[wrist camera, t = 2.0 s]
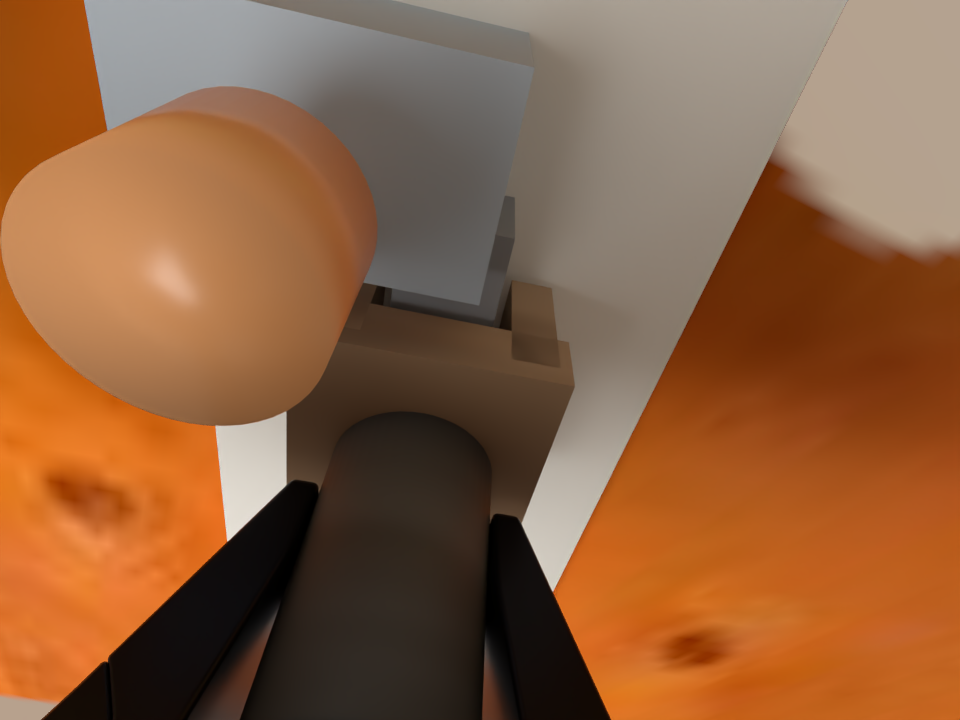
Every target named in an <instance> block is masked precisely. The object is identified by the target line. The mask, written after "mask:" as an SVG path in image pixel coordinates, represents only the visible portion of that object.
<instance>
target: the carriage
mask: <svg viewBox="0 0 960 720" xmlns="http://www.w3.org/2000/svg"><path fill="white" fill-rule="evenodd" d="M384 295H385V287H383V286H378V285H373V284H368V283H363V284H362V287H361V289H360V291H359V293H358V296H357V298H356V300H355V303H354V305H353V307H352V310H351V312H350V314H349V316H348V319H347V321H346V323H345V326H344V328H343V330H342V332H341V335H340V337H339V339H338V342H337V344H336V346H335V349H334V351H333V353H332V355H331V358H330V360H329V362H328V365H327V367H326V369H325V371H324V373H323V375H322V377H321V378H320V380H319V382H318V383H317V385H316V386H315V387H314V389H313V390H312V391H311V392H310V394H308V395H307V396H306V397H305V398H304V399H303V400H302V401H301V402H300V403H298V404H297V405H295V406H294V407H292V408H291V409H289V410H288V411H286V485H287V484H288V483H289V482H290V481H292V480H303V481H309V482H314V483H316V484H317V485H318V488H319V493H318V497H317V500H316V503H315V506H314V509H313V512H312V514H311V517H310V520H309V523H308V526H307V529H306V532H305V534H304V537H303V540H302V543H301V546H300V549H299V552H298V554H297V557H296V560H295V563H294V566H293V569H292V572H291V574H290V577H289V580H288V583H287V586H286V589H285V592H284V594H283V597H282V600H281V603H280V606H279V609H278V612H277V614H276V617H275V620H274V623H273V626H272V629H271V632H270V634H269V637H268V640H267V643H266V646H265V649H264V652H263V654H262V657H261V660H260V663H259V666H258V669H257V672H256V674H255V677H254V680H253V683H252V686H251V689H250V692H249V694H248V697H247V700H246V703H245V706H244V709H243V712H242V714H241V717H240V720H482V709H483V683H484V658H485V633H486V607H487V582H488V557H489V531H490V522H491V519H492V517H493V515H494V514H496V513H499V514H505V515H511V516H515V517H517V518H518V519H519V520H520V522H521V524H522V521H523V519H524V516H525V514H526V511H527V508H528V506H529V503H530V501H531V498H532V496H533V493H534V491H535V488H536V485H537V483H538V480H539V478H540V475H541V473H542V470H543V467H544V465H545V462H546V460H547V457H548V455H549V452H550V449H551V447H552V444H553V442H554V439H555V437H556V434H557V431H558V429H559V426H560V424H561V421H562V419H563V416H564V414H565V411H566V408H567V406H568V403H569V401H570V398H571V396H572V393H573V390H574V388H575V383H574V375H573V368H572V361H571V354H570V347H569V342H565V341H560V340H557V331H556V322H555V313H554V304H553V295H552V288H549V287H544V286H539V285H534V284H529V283H524V282H519V281H514V280H512V281H511V285H510V289H509V292H508V296H507V300H506V304H505V307H504V311H503V315H502V319H501V322H500V326H499V328H494V327H489V326H483V325H478V324H473V323H468V322H463V321H458V320H453V319H448V318H443V317H437V316H432V315H427V314H422V313H417V312H412V311H407V310H402V309H397V308H391V307H386V306H383V303H384Z"/></svg>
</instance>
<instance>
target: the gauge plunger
mask: <svg viewBox="0 0 960 720" xmlns="http://www.w3.org/2000/svg"><path fill="white" fill-rule="evenodd" d="M0 240H1V250H2V259H3V263H4V267H5V271H6V275H7V278H8V281H9V283H10V286H11V288H12V290H13V293H14V295H15V297H16V299H17V301H18V303H19V305H20V306H21V308H22V310H23V312H24V314H25V315H26V316H27V318H28V319H29V321H30V322H31V324H32V325H33V327H34V328H35V329H36V331H37V332H38V333H39V334H40V335H41V337H42V338H43V339H44V340H45V341H46V342H47V344H48V345H49V346H50V347H51V348H52V349H53V350H54V351H55V352H56V353H57V354H58V355H59V356H60V357H61V358H62V359H63V360H64V361H65V362H67V363H68V364H69V365H70V366H71V367H73V368H74V369H75V370H76V371H77V372H79V373H80V374H81V375H82V376H84V377H85V378H87V379H88V380H89V381H91V382H92V383H94V384H95V385H97V386H98V387H100V388H101V389H103V390H105V391H106V392H108V393H110V394H112V395H113V396H115V397H117V398H119V399H121V400H123V401H125V402H127V403H129V404H131V405H133V406H135V407H138V408H140V409H143V410H145V411H148V412H150V413H153V414H156V415H160V416H163V417H166V418H169V419H173V420H178V421H182V422H187V423H193V424H201V425H211V426H232V425H244V424H249V423H255V422H259V421H263V420H266V419H269V418H273V417H275V416H277V415H279V414H281V413H284V412H286V411H288V410H289V409H291V408H292V407H294V406H295V405H297V404H298V403H300V402H301V401H302V400H303V399H304V398H305V397H306V396H307V395H308V394H310V392H311V391H312V390H313V389H314V387H315V386H316V385H317V383H318V382H319V380H320V378H321V377H322V375H323V373H324V371H325V369H326V367H327V365H328V362H329V360H330V358H331V355H332V353H333V351H334V349H335V346H336V344H337V342H338V339H339V337H340V335H341V332H342V330H343V328H344V326H345V323H346V321H347V319H348V316H349V314H350V312H351V310H352V307H353V305H354V303H355V300H356V298H357V296H358V293H359V291H360V289H361V287H362V284H363V282H364V280H365V277H366V275H367V273H368V271H369V268H370V266H371V263H372V260H373V257H374V254H375V249H376V243H377V217H376V209H375V205H374V201H373V197H372V194H371V191H370V189H369V186H368V183H367V181H366V179H365V177H364V175H363V173H362V171H361V169H360V167H359V165H358V164H357V162H356V161H355V159H354V158H353V156H352V155H351V153H350V152H349V150H348V149H347V148H346V147H345V146H344V144H343V143H342V142H341V141H340V140H339V139H338V138H337V136H336V135H335V134H334V133H332V132H331V131H330V130H329V129H328V128H327V127H326V126H325V125H324V124H323V123H322V122H320V121H319V120H318V119H316V118H315V117H313V116H312V115H311V114H309V113H308V112H307V111H305V110H303V109H302V108H300V107H298V106H296V105H295V104H293V103H291V102H289V101H287V100H285V99H282V98H280V97H278V96H275V95H273V94H270V93H266V92H263V91H259V90H256V89H250V88H244V87H237V86H217V87H210V88H203V89H200V90H196V91H193V92H190V93H187V94H185V95H183V96H180V97H178V98H176V99H174V100H172V101H170V102H168V103H166V104H164V105H161V106H159V107H157V108H155V109H153V110H151V111H149V112H147V113H145V114H142V115H140V116H138V117H136V118H134V119H132V120H130V121H128V122H125V123H123V124H121V125H119V126H117V127H115V128H113V129H111V130H109V131H106V132H104V133H102V134H100V135H98V136H96V137H94V138H92V139H90V140H87V141H85V142H83V143H81V144H79V145H77V146H75V147H73V148H70V149H68V150H66V151H64V152H62V153H60V154H58V155H56V156H54V157H52V158H50V159H48V160H46V161H44V162H42V163H40V164H39V165H38V166H37V167H35V168H34V169H33V170H32V171H30V172H29V173H28V174H27V175H26V176H25V177H24V178H23V179H22V180H21V182H20V183H19V184H18V185H17V186H16V188H15V189H14V191H13V193H12V195H11V197H10V199H9V201H8V203H7V205H6V208H5V212H4V216H3V219H2V226H1V239H0Z"/></svg>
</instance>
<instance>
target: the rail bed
mask: <svg viewBox="0 0 960 720" xmlns="http://www.w3.org/2000/svg"><path fill="white" fill-rule="evenodd" d="M847 1H848V0H84V3H85V9H86V14H87V20H88V25H89V31H90V36H91V42H92V47H93V53H94V58H95V64H96V69H97V75H98V80H99V86H100V92H101V97H102V103H103V108H104V114H105V119H106V125H107V130H108V131H109V130H111V129H113V128H115V127H117V126H119V125H121V124H123V123H125V122H128V121H130V120H132V119H134V118H136V117H138V116H140V115H142V114H145V113H147V112H149V111H151V110H153V109H155V108H157V107H159V106H161V105H164V104H166V103H168V102H170V101H172V100H174V99H176V98H178V97H180V96H183V95H185V94H187V93H190V92H193V91H196V90H200V89H203V88H210V87H217V86H237V87H244V88H250V89H256V90H259V91H263V92H266V93H270V94H273V95H275V96H278V97H280V98H282V99H285V100H287V101H289V102H291V103H293V104H295V105H296V106H298V107H300V108H302V109H303V110H305V111H307V112H308V113H309V114H311V115H312V116H313V117H315V118H316V119H318V120H319V121H320V122H322V123H323V124H324V125H325V126H326V127H327V128H328V129H329V130H330V131H331V132H332V133H334V134H335V135H336V136H337V138H338V139H339V140H340V141H341V142H342V143H343V144H344V146H345V147H346V148H347V149H348V150H349V152H350V153H351V155H352V156H353V158H354V159H355V161H356V162H357V164H358V165H359V167H360V169H361V171H362V173H363V175H364V177H365V179H366V181H367V183H368V186H369V189H370V191H371V194H372V197H373V201H374V205H375V209H376V217H377V243H376V249H375V254H374V257H373V260H372V263H371V266H370V268H369V271H368V273H367V275H366V277H365V280H364V282H363V283H368V284H373V285H378V286H383V287H385V295H384V303H383V306H386V307H391V308H397V309H402V310H407V311H412V312H417V313H422V314H427V315H432V316H437V317H443V318H448V319H453V320H458V321H463V322H468V323H473V324H478V325H483V326H489V327H494V328H499V326H500V322H501V319H502V315H503V311H504V307H505V304H506V300H507V296H508V292H509V289H510V285H511V281H512V280H514V281H519V282H524V283H529V284H534V285H539V286H544V287H549V288H552V295H553V304H554V313H555V322H556V331H557V340H560V341H565V342H569V347H570V354H571V361H572V368H573V375H574V383H575V388H574V390H573V393H572V396H571V398H570V401H569V403H568V406H567V408H566V411H565V414H564V416H563V419H562V421H561V424H560V426H559V429H558V431H557V434H556V437H555V439H554V442H553V444H552V447H551V449H550V452H549V455H548V457H547V460H546V462H545V465H544V467H543V470H542V473H541V475H540V478H539V480H538V483H537V485H536V488H535V491H534V493H533V496H532V498H531V501H530V503H529V506H528V508H527V511H526V514H525V516H524V519H523V521H522V526H523V528H524V530H525V533H526V535H527V537H528V539H529V541H530V543H531V546H532V548H533V550H534V552H535V554H536V557H537V559H538V561H539V563H540V565H541V568H542V570H543V572H544V574H545V576H546V578H547V581H548V583H549V585H550V587H551V589H552V592H553V591H554V589H555V587H556V585H557V583H558V581H559V579H560V577H561V575H562V573H563V571H564V569H565V567H566V565H567V563H568V561H569V559H570V557H571V555H572V553H573V551H574V549H575V547H576V545H577V543H578V541H579V539H580V537H581V535H582V533H583V531H584V529H585V527H586V525H587V523H588V521H589V519H590V517H591V515H592V513H593V511H594V509H595V507H596V505H597V503H598V501H599V499H600V497H601V495H602V493H603V491H604V489H605V487H606V485H607V483H608V481H609V479H610V477H611V475H612V473H613V471H614V469H615V467H616V464H617V462H618V460H619V458H620V456H621V454H622V452H623V450H624V448H625V446H626V444H627V442H628V440H629V438H630V436H631V434H632V432H633V430H634V428H635V426H636V424H637V422H638V420H639V418H640V416H641V414H642V412H643V410H644V408H645V406H646V404H647V402H648V400H649V398H650V396H651V394H652V392H653V390H654V388H655V386H656V384H657V382H658V380H659V378H660V376H661V374H662V372H663V370H664V368H665V366H666V364H667V362H668V360H669V358H670V356H671V354H672V352H673V350H674V348H675V346H676V344H677V342H678V340H679V338H680V336H681V334H682V332H683V330H684V328H685V326H686V324H687V322H688V320H689V318H690V316H691V314H692V312H693V310H694V308H695V306H696V304H697V302H698V300H699V298H700V296H701V294H702V292H703V290H704V288H705V286H706V284H707V282H708V280H709V278H710V276H711V274H712V272H713V270H714V268H715V266H716V264H717V262H718V260H719V258H720V256H721V254H722V252H723V250H724V248H725V246H726V244H727V242H728V240H729V238H730V236H731V234H732V232H733V230H734V228H735V226H736V224H737V222H738V220H739V218H740V216H741V214H742V212H743V210H744V208H745V206H746V204H747V202H748V200H749V198H750V196H751V194H752V192H753V190H754V188H755V186H756V184H757V182H758V180H759V178H760V176H761V174H762V172H763V170H764V168H765V166H766V164H767V162H768V160H769V158H770V156H771V154H772V152H773V150H774V148H775V146H776V144H777V142H778V140H779V138H780V136H781V134H782V132H783V130H784V128H785V126H786V124H787V122H788V120H789V118H790V115H791V114H792V111H793V109H794V107H795V105H796V103H797V101H798V99H799V97H800V95H801V93H802V91H803V89H804V87H805V85H806V83H807V81H808V79H809V77H810V75H811V73H812V71H813V69H814V67H815V65H816V63H817V61H818V59H819V57H820V55H821V53H822V51H823V49H824V47H825V45H826V43H827V41H828V39H829V37H830V35H831V33H832V31H833V29H834V27H835V25H836V23H837V21H838V19H839V17H840V15H841V13H842V11H843V9H844V7H845V5H846V3H847ZM216 436H217V445H218V455H219V465H220V475H221V484H222V494H223V504H224V514H225V523H226V533H227V542H228V541H229V540H230V539H231V538H232V537H233V536H234V535H235V534H236V533H237V532H238V531H239V530H240V529H241V528H242V527H243V526H244V525H245V524H246V523H247V522H249V521H250V520H251V519H252V518H253V517H254V516H255V515H256V514H257V513H258V512H259V511H260V510H261V509H262V508H263V507H264V506H265V505H266V504H267V503H268V502H269V501H270V500H271V499H272V498H273V497H274V496H275V495H277V494H278V493H279V492H280V491H281V490H282V489H283V488H284V487H285V486H286V412H284V413H281V414H279V415H277V416H275V417H273V418H269V419H266V420H263V421H259V422H255V423H249V424H244V425H232V426H216Z"/></svg>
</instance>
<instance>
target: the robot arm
mask: <svg viewBox="0 0 960 720" xmlns="http://www.w3.org/2000/svg"><path fill="white" fill-rule="evenodd" d="M318 493H319V488H318V485H317V484H316V483H314V482H309V481H303V480H292V481H290V482H289V483H288V484H287V485H286V486H285V487H284V488H283V489H282V490H281V491H280V492H279V493H278V494H277V495H275V496H274V497H273V498H272V499H271V500H270V501H269V502H268V503H267V504H266V505H265V506H264V507H263V508H262V509H261V510H260V511H259V512H258V513H257V514H256V515H255V516H254V517H253V518H252V519H251V520H250V521H249V522H247V523H246V524H245V525H244V526H243V527H242V528H241V529H240V530H239V531H238V532H237V533H236V534H235V535H234V536H233V537H232V538H231V539H230V540H229V541H228V542H227V543H226V544H225V545H224V546H223V547H222V548H221V549H219V550H218V551H217V552H216V553H215V554H214V555H213V556H212V557H211V558H210V559H209V560H208V561H207V562H206V563H205V564H204V565H203V566H202V567H201V568H200V569H199V570H198V571H197V572H196V573H195V574H194V575H193V576H191V577H190V578H189V579H188V580H187V581H186V582H185V583H184V584H183V585H182V586H181V587H180V588H179V589H178V590H177V591H176V592H175V593H174V594H173V595H172V596H171V597H170V598H169V599H168V600H167V601H166V602H165V603H164V604H162V605H161V606H160V607H159V608H158V609H157V610H156V611H155V612H154V613H153V614H152V615H151V616H150V617H149V618H148V619H147V620H146V621H145V622H144V623H143V624H142V625H141V626H140V627H139V628H138V629H137V630H136V631H134V632H133V633H132V634H131V635H130V636H129V637H128V638H127V639H126V640H125V641H124V642H123V643H122V644H121V645H120V646H119V647H118V648H117V649H116V650H115V651H114V652H113V653H112V654H111V655H110V656H109V657H108V662H102V663H101V664H100V665H99V666H98V667H97V668H96V669H95V670H94V671H93V672H92V673H91V674H90V675H89V676H87V677H86V678H85V679H84V680H83V681H82V682H81V683H80V684H79V685H78V686H77V687H76V688H75V689H74V690H73V691H72V692H71V693H70V694H69V695H67V696H66V697H65V698H64V699H63V700H62V701H61V702H60V703H59V704H58V705H57V706H55V707H54V708H53V709H52V710H51V711H50V712H49V713H48V714H47V715H46V716H45V717H44V718H42V719H41V720H240V717H241V714H242V712H243V709H244V706H245V703H246V700H247V697H248V694H249V692H250V689H251V686H252V683H253V680H254V677H255V674H256V672H257V669H258V666H259V663H260V660H261V657H262V654H263V652H264V649H265V646H266V643H267V640H268V637H269V634H270V632H271V629H272V626H273V623H274V620H275V617H276V614H277V612H278V609H279V606H280V603H281V600H282V597H283V594H284V592H285V589H286V586H287V583H288V580H289V577H290V574H291V572H292V569H293V566H294V563H295V560H296V557H297V554H298V552H299V549H300V546H301V543H302V540H303V537H304V534H305V532H306V529H307V526H308V523H309V520H310V517H311V514H312V512H313V509H314V506H315V503H316V500H317V497H318ZM482 720H611V718H610V716H609V714H608V712H607V710H606V708H605V705H604V703H603V701H602V699H601V697H600V694H599V692H598V690H597V688H596V686H595V683H594V681H593V679H592V677H591V675H590V673H589V670H588V668H587V666H586V664H585V662H584V659H583V657H582V655H581V653H580V651H579V648H578V646H577V644H576V642H575V640H574V638H573V635H572V633H571V631H570V629H569V627H568V624H567V622H566V620H565V618H564V616H563V613H562V611H561V609H560V607H559V605H558V603H557V600H556V598H555V596H554V594H553V592H552V589H551V587H550V585H549V583H548V581H547V578H546V576H545V574H544V572H543V570H542V568H541V565H540V563H539V561H538V559H537V557H536V554H535V552H534V550H533V548H532V546H531V543H530V541H529V539H528V537H527V535H526V533H525V530H524V528H523V526H522V524H521V522H520V520H519V519H518V518H517V517H515V516H511V515H505V514H499V513H496V514H494V515H493V517H492V519H491V522H490V531H489V557H488V582H487V607H486V633H485V658H484V683H483V709H482Z"/></svg>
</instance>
